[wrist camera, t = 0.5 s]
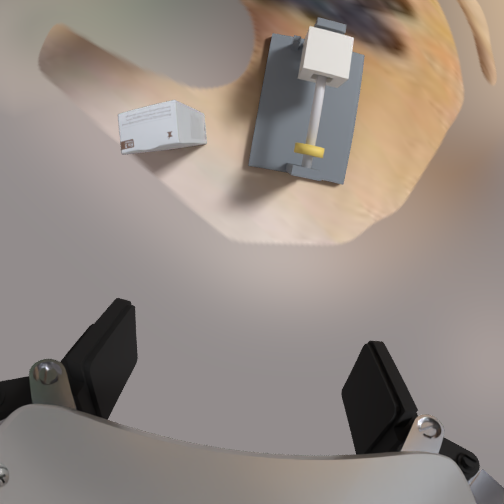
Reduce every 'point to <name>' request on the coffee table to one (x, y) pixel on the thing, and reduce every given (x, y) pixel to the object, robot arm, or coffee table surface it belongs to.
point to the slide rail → (305, 114)
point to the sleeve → (326, 56)
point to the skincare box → (161, 128)
